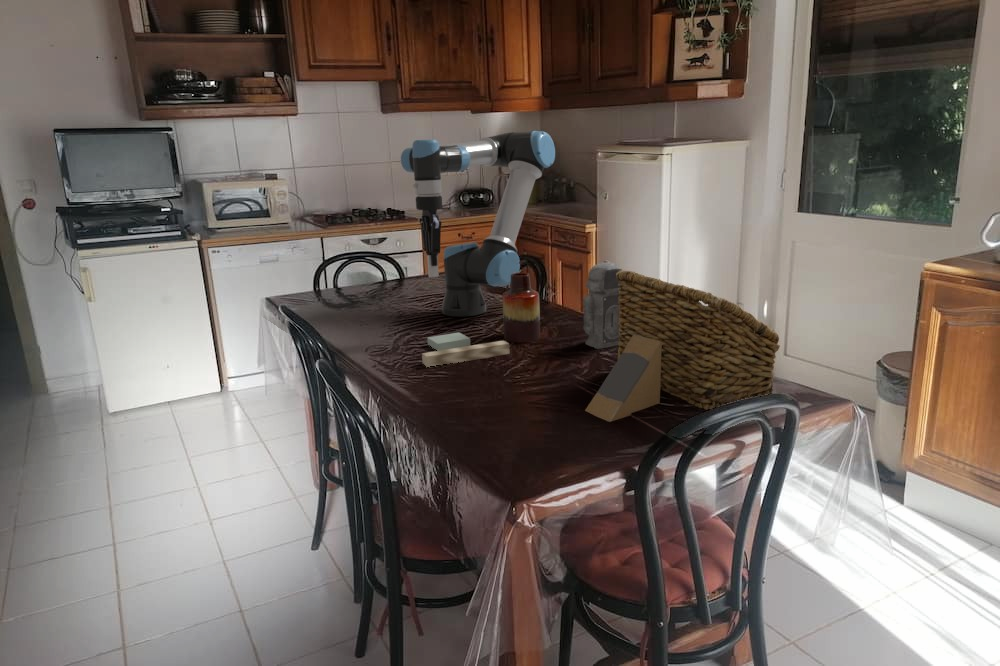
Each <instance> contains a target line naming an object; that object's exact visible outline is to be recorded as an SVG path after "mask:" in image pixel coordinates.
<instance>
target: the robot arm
mask: <svg viewBox="0 0 1000 666" xmlns="http://www.w3.org/2000/svg"><path fill="white" fill-rule="evenodd" d="M554 143H555V142H554V141H553V139H552V137H551V135H550V134H549V133H548V132H545V131H543V130H541V131H540V130H539V131H537V130H533V131H517V132H516V131H515V132H514V131H512V132H506V133H501V134H498V135H497V134H496V135H491V136H485V137H482V138H480V139H479V140H477V141H468V142H467V141H466V142H457V143H456V142H455V143H447V144H446V143H445V144H440V142H439V140H438V139H416V140H414V141H413V142H412V147H407V148H404V149H403V150H402V152H401V155H400V164H401V167H402V168H403V170H404V171H405V172H408V173H413V179H414V184H413V185H412V186H413V187H412V188H415V189H414V190H415V195H416V196H415V208H416V210H418V211H421V212H422V213H421V214H422V215H421V218H419V224H420V231H421V237H422V243H423V250H424V252H426V253H425V254H426V258H427V259H426V261H427V272H428V275H427V277H429V278H438V277H440V275H439V273H440V272H439V258H438V257H439V254H441V234H442V233H441V232H442V231H441V229H442V221H441V220H439V215H438V210H441V209H442V208H443V197H442V195H441V194H442V193H443V189H442V177H441V176H442V175H441V174H443V173H459V172H464V171H466V170H467V169H468V168H469V167H471V166H479V165H481V166H483V167H487V168H488V167H501V168H508V169H509V170H510V173H509V176H508V179H507V181H506V182H507V183H506V185H505V188H504V191H503V193H502V197H501V201H500V203H499V207H498V209H497V213H496V215H495V218H494V221H493V225H492V228H491V231H490V234H489V236H487V237H485V238H484V239H483V240H482V242H481V243H482V244H481V247H479V244H478V242H468V243H460V244H454V245H448V246H446V247H445V248H444V250H443V269H444V281H445V282H444V284H445V293H444V296H443V300H442V303H441V313H442V315H445V316H448V317H459V318H461V317H473V316H478V315H482V314H484V313H486V312H487V303H486V301H485V298H484V295H483V293H482V290H481V285H487V286H492V287H506V286H508V285H510V283H511V274H513V273H520V270H521V269H520V268H521V264H520V262H521V261H520V257H519V255H518V248H517V246H516V241H517V237H518V236H519V233H520V228H521V226H522V222H523V219H524V216H525V213H526V210H527V207H528V204H529V200H530V198H531V194H532V193H533V189H534V185H535V182H536V180H538V179H540V178H541V177H542V176H543V173H544V169H547V168H550V167H551V166H552V165H553V164H554V162H555V160H556V146H555V144H554Z"/></svg>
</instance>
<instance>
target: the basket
mask: <svg viewBox="0 0 1000 666" xmlns="http://www.w3.org/2000/svg"><path fill="white" fill-rule="evenodd" d="M616 279H617V280H619V283H618V286H619V287H620V288H619V289H618V292H619V295H620V296H619V297H618V300H619V301H618V303H619V310H620V311H619V315H618V316H619V317H620V318H619V328H618V329H619V338H620V339H619V343H618V345H617V346H618V350H617V358H616V359H617V360H618V359H619V358H620V356H621V354H622V353H623V351H624V349H625V348H626V346H627V344H628V343H629V341H630V339H631V338H632V336H633V335H634V334H635V335H639V336H642V337H646V338H650V339H653V340H656V341H659V342H661V343H662V349H661V382H660V390H662V391H663V392H665V393H667V394H670V395H671V396H675V397H677V398H679V399H681V400H683V401H686V402H687V403H688V404H691V405H693V406H694V407H696V408H698V409H699V408H700V409H704V410H705V411H709V410H708V409H711V408H714V409H715V407H718V406H721V405H724V404H727V403H730V402H734V401H737V400H741V399H745V398H750V397H755V396H761V395H765V394H769V395H771V394H772V393H773V391H774V388H773V387H774V385H773V381H774V380H773V377H774V372H773V370H774V369H775V366H774V364H775V363H776V361H775V359H776V353H777V352H778V351H779V349H780V347H781V345H780V344H778V343H779V341H780V338H779V335H778V333H777V332H776V331H775V330H773V329H772V328H770V327H769V326H768V324H765V323H763V322H762V321H759V320H758V319H757V318H755V316H754V315H753V314H752V313H751V312H748V311H745V310H743V309H742V307H741V306H739V305H738V304H736V303H735V302H732V301H729V300H728V299H726V298H723V297H719V296H716V295H714V294H713V293H712V292H706V291H703V290H701V289H697V288H694V287H689V286H686V285H681V284H678V283H677V284H674V283H671V282H668V281H664V280H662V279H658V278H655V277H650V276H645V275H644V274H640V273H637V272H636V271H631V270H623V269H622V270H620V271H618V272H617V273H616ZM702 303H703V304H704V305H703V304H702ZM770 393H771V394H770Z"/></svg>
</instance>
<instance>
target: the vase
mask: <svg viewBox="0 0 1000 666" xmlns="http://www.w3.org/2000/svg"><path fill="white" fill-rule="evenodd" d="M509 286H510V287H509V288H510V289H509V290H507V291H505V292H503V294H502V321H503V322H502V323H503V339H504V341H506V342H507V341H508V342H510V343H511V342H512V343H520V344H521V343H530V342H531V343H532V342H535V341H538V340H540V339H541V321H540V320H541V316H540V315H541V314H540V312H541V310H540V294H539V292H538V291H536V290H534V289H532V286H531V278H530V273H528V272H518V273H513V274H511V283H510V284H509Z"/></svg>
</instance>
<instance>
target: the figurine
mask: <svg viewBox="0 0 1000 666" xmlns="http://www.w3.org/2000/svg"><path fill="white" fill-rule="evenodd" d="M620 270H623V268H622V267H621V266H620V264H617V263H614V262H611V261H609V260H607V259H606V260H604V261H603V262H600V263H597V264H595V265H593V266H592V267H591V268H590V269H589V272H588V276H587V281H586V284H585V288H586V289H588V294H587V295H585V296H584V297H583V299H582V307H583V308H582V309H583V326H582V329H583V330H584V332H585V334H587V335H588V338H587V339H586V340H585V345H587V346H589V347H590V348H593V347H594V349H596V350H601V349H604V348H605V349H606V348H611V347H616V346H618V343H619V339H620V338H619V329H618V328H619V318H620V317H619V316H618V315H619V311H620V310H619V303H618V301H619V300H618V297H619V296H620V295H619V292H618V289H619V288H620V287H619V286H618V283H619V280H617V279H616V273H617V272H618V271H620Z"/></svg>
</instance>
